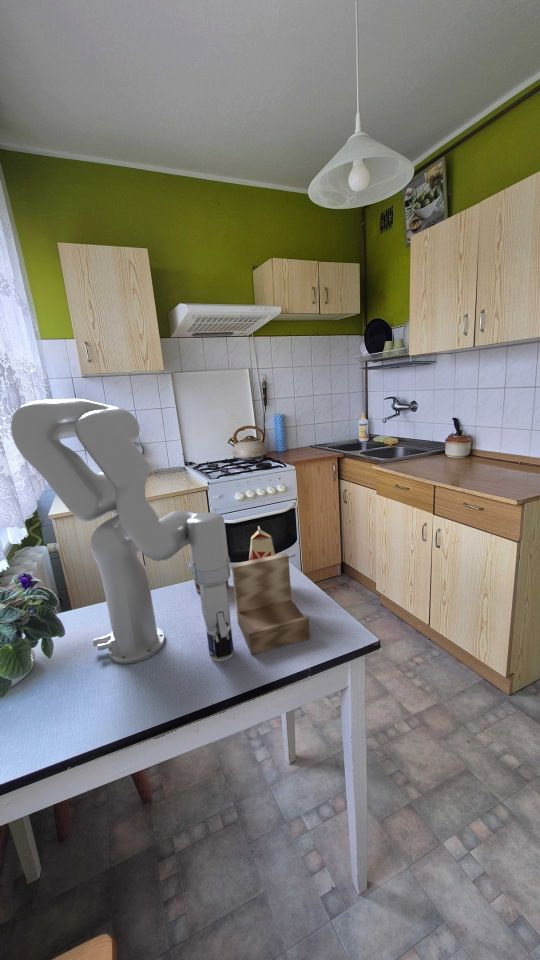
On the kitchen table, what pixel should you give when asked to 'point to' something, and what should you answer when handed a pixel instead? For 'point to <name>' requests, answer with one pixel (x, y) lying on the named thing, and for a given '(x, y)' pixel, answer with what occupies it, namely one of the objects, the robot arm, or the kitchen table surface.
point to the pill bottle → (212, 645)
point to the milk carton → (261, 545)
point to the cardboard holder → (267, 604)
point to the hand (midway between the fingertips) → (220, 646)
